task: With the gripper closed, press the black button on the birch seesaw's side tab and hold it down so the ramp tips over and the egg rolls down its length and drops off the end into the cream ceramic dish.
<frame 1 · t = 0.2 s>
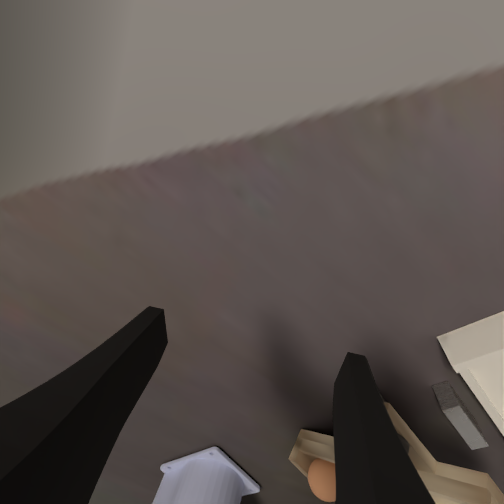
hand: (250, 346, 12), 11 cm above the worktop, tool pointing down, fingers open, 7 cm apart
egg: (326, 478, 26), point 3 cm above the worktop, tilted 11°, touching lever
lever: (363, 460, 22), point 5 cm above the worktop, hinge at -26.0°, touching egg
pivot base: (378, 424, 27), on the worktop
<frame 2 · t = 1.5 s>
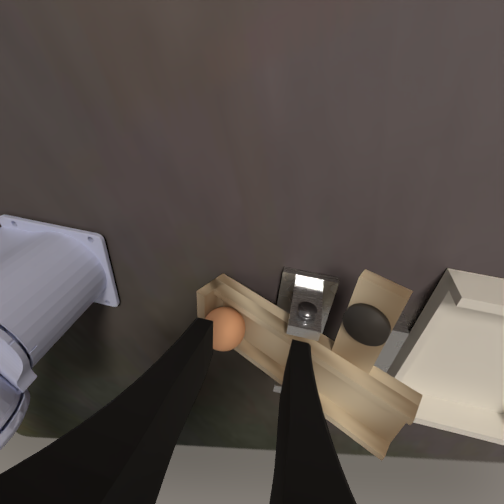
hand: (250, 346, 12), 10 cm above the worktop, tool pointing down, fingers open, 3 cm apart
dish: (479, 351, 23), on the worktop
egg: (223, 328, 23), point 3 cm above the worktop, tilted 11°, touching lever
lever: (295, 331, 19), point 5 cm above the worktop, hinge at -26.0°, touching egg
pivot base: (300, 312, 25), on the worktop
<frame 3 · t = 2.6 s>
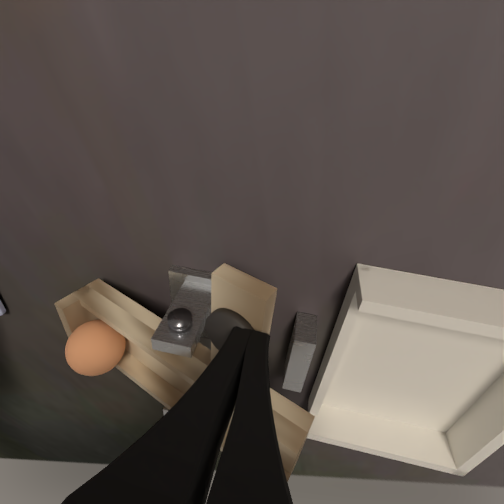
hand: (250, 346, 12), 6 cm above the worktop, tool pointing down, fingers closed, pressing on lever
dish: (410, 362, 19), on the worktop
egg: (96, 347, 18), point 4 cm above the worktop, touching lever
lever: (166, 346, 15), point 5 cm above the worktop, hinge at -21.4°, touching egg, gripper
pivot base: (204, 319, 21), on the worktop
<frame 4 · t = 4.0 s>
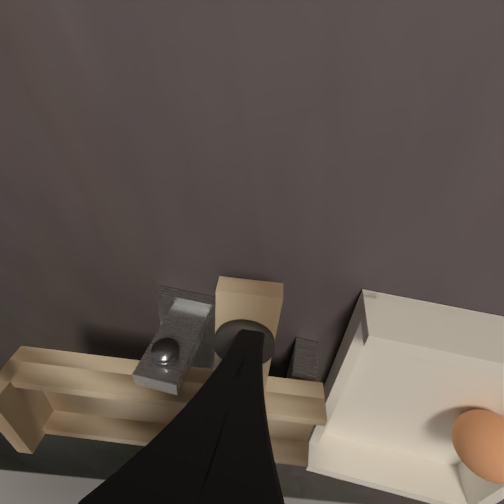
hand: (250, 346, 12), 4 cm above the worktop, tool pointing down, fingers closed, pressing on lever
dish: (420, 393, 18), on the worktop
egg: (489, 444, 15), point 2 cm above the worktop, tilted 82°, touching dish
lever: (160, 384, 13), point 5 cm above the worktop, hinge at 7.0°, touching gripper
pivot base: (196, 341, 19), on the worktop
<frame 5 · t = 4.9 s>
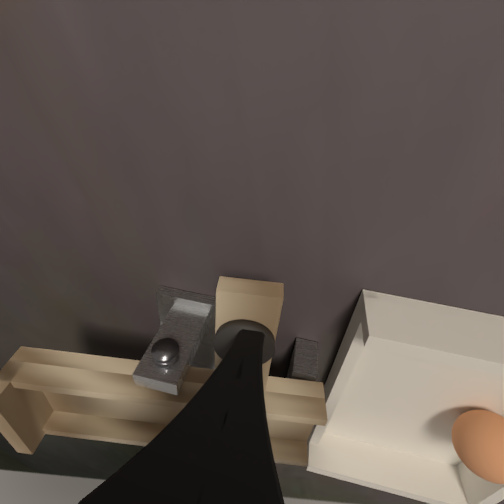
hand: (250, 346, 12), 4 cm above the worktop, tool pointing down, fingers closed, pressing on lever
dish: (420, 393, 18), on the worktop
egg: (489, 444, 15), point 2 cm above the worktop, tilted 81°, touching dish
lever: (160, 385, 13), point 5 cm above the worktop, hinge at 7.2°, touching gripper
pivot base: (196, 342, 19), on the worktop
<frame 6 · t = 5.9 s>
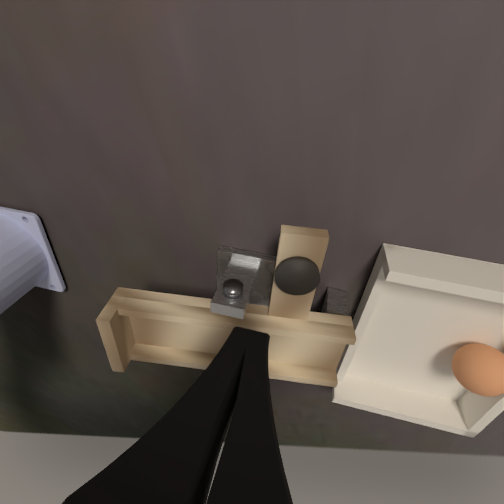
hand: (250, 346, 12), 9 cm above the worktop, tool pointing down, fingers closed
dish: (427, 334, 22), on the worktop
egg: (481, 369, 20), point 2 cm above the worktop, tilted 79°, touching dish
lever: (229, 312, 18), point 5 cm above the worktop, hinge at 7.2°
pivot base: (244, 294, 24), on the worktop
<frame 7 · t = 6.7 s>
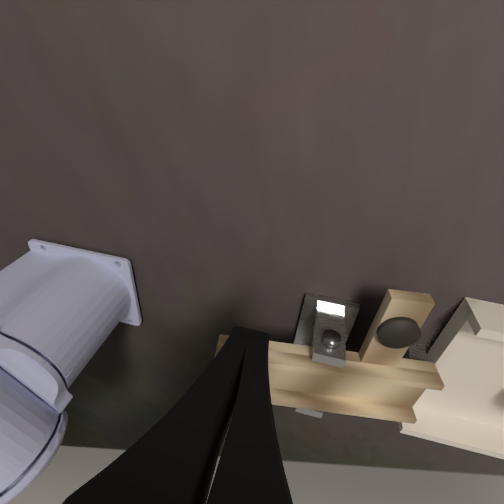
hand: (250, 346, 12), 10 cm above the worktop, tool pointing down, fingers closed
dish: (494, 373, 24), on the worktop
lever: (329, 361, 20), point 5 cm above the worktop, hinge at 7.2°
pivot base: (320, 334, 25), on the worktop
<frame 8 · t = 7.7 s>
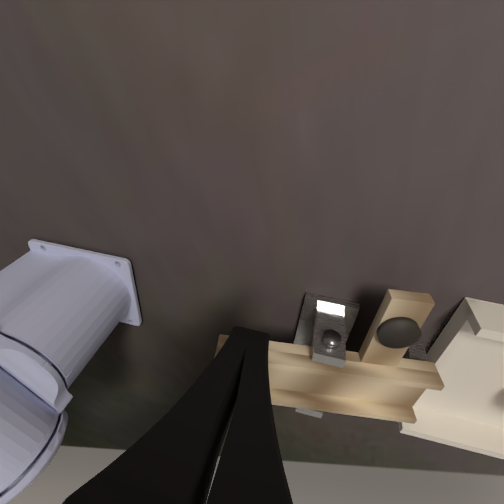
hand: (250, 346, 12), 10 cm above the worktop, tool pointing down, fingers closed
dish: (494, 373, 24), on the worktop
lever: (329, 361, 20), point 5 cm above the worktop, hinge at 7.2°
pivot base: (320, 334, 25), on the worktop
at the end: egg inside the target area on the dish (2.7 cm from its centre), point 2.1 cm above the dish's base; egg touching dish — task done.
